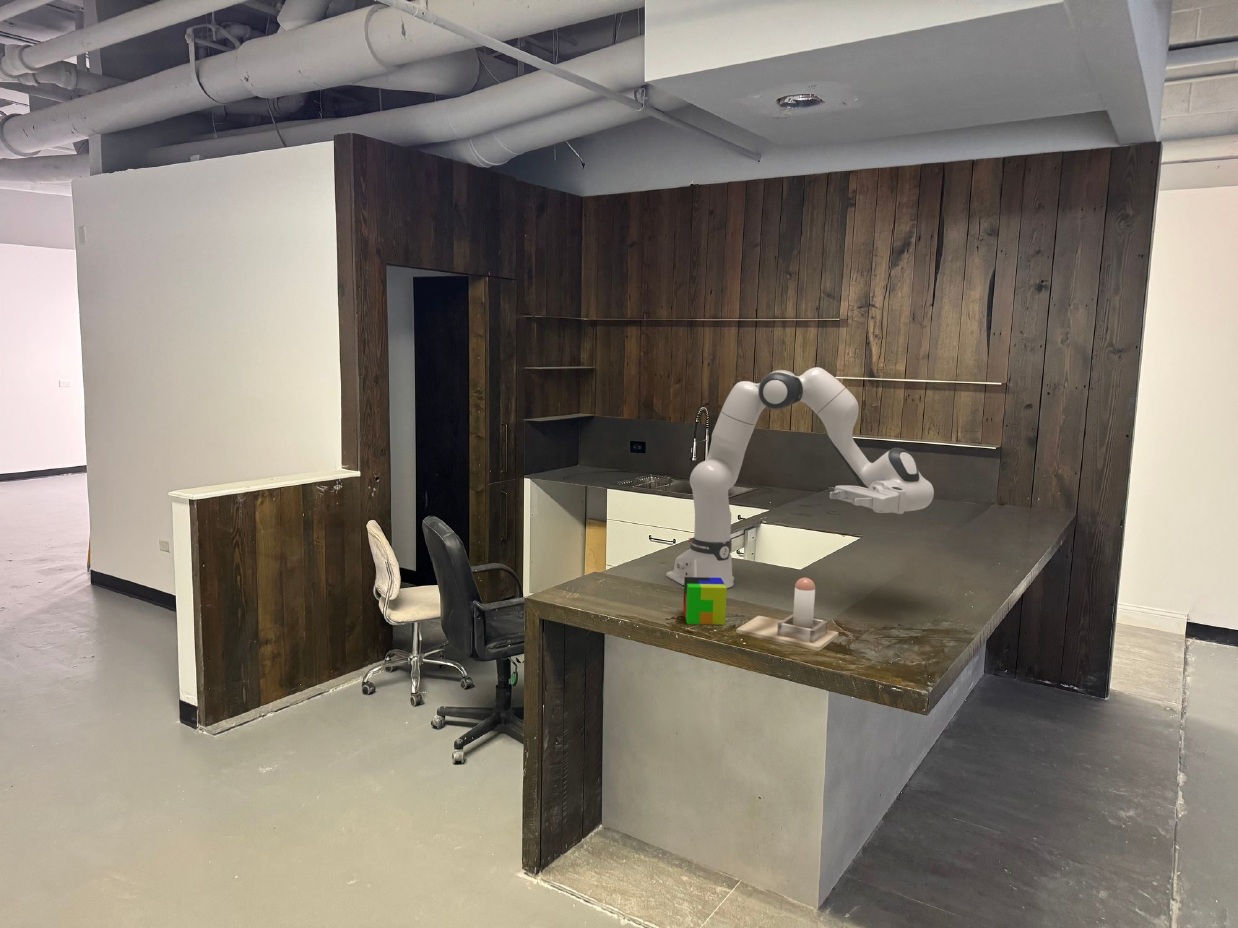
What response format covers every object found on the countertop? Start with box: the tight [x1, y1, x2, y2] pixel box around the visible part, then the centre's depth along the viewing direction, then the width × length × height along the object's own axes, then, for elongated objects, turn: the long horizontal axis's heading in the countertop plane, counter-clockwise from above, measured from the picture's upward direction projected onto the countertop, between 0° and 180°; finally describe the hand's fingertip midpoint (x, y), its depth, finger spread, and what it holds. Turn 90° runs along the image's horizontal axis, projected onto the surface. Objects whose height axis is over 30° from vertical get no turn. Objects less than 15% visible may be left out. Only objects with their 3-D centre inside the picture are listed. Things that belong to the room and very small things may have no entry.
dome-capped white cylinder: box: [792, 577, 816, 629], centre depth 215 cm, size 5×5×14 cm
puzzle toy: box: [682, 577, 728, 626], centre depth 229 cm, size 10×10×10 cm
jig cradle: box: [735, 613, 839, 652], centre depth 218 cm, size 22×14×4 cm, turn 57°
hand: (842, 498), depth 230 cm, fingers open, 8 cm apart
